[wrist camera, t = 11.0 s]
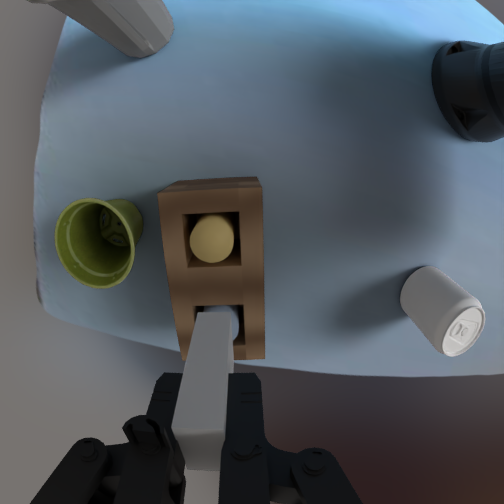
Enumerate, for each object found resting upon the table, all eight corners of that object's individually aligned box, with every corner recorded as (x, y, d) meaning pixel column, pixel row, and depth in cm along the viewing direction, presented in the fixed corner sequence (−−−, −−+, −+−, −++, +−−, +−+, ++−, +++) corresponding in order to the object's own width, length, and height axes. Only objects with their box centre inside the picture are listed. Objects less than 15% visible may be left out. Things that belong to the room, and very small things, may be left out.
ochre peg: (200, 204, 33) (187, 222, 25) (234, 202, 33) (232, 219, 25) (202, 236, 34) (191, 263, 27) (235, 235, 34) (234, 261, 27)
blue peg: (206, 278, 36) (198, 313, 28) (238, 277, 36) (237, 312, 29) (209, 306, 37) (202, 344, 30) (239, 305, 37) (239, 343, 30)
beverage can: (423, 318, 41) (462, 363, 30) (388, 305, 40) (427, 354, 29) (449, 274, 39) (496, 311, 28) (415, 256, 38) (465, 295, 26)
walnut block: (177, 180, 33) (157, 193, 25) (256, 176, 34) (262, 187, 25) (192, 317, 40) (182, 360, 31) (260, 315, 40) (265, 358, 31)
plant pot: (162, 192, 34) (139, 208, 26) (151, 265, 37) (130, 298, 29) (93, 179, 33) (56, 191, 25) (87, 250, 36) (54, 276, 28)
